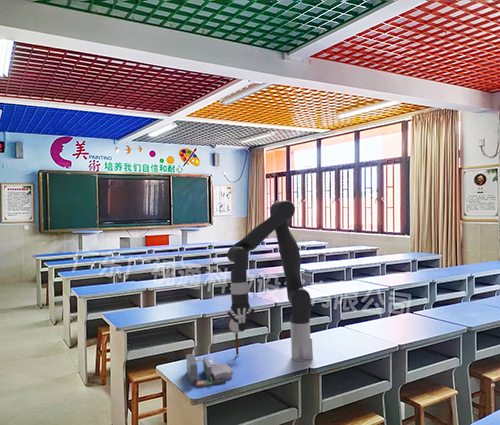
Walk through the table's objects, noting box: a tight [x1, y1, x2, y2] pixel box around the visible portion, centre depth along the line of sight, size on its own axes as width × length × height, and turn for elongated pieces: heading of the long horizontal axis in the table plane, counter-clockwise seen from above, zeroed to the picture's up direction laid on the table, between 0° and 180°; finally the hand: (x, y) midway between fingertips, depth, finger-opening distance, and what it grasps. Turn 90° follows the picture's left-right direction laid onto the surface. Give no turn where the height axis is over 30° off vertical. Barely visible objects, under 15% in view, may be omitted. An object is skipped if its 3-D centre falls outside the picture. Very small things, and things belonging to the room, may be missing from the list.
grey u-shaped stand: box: [185, 353, 226, 388], centre depth 176 cm, size 14×18×8 cm
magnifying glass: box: [227, 314, 240, 357], centre depth 202 cm, size 9×2×20 cm, turn 117°
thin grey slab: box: [202, 356, 213, 381], centre depth 176 cm, size 2×18×6 cm, turn 15°
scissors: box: [195, 354, 216, 364], centre depth 195 cm, size 11×1×20 cm
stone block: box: [210, 362, 234, 380], centre depth 179 cm, size 12×5×10 cm
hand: (241, 331), depth 182 cm, fingers closed
